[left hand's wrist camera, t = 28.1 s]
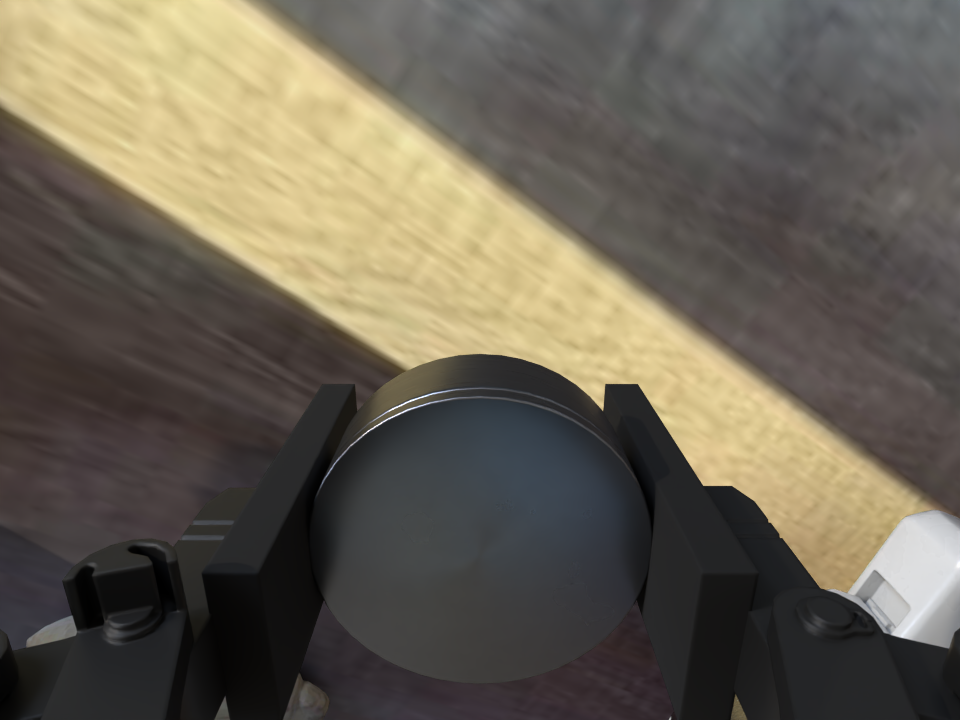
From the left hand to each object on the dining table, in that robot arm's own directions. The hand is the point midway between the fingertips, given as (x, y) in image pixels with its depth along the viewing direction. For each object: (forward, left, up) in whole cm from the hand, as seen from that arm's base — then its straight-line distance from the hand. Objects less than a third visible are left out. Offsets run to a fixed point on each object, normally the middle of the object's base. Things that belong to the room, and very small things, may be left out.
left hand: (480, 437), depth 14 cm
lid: (0, 0, +4) cm, 4 cm away
